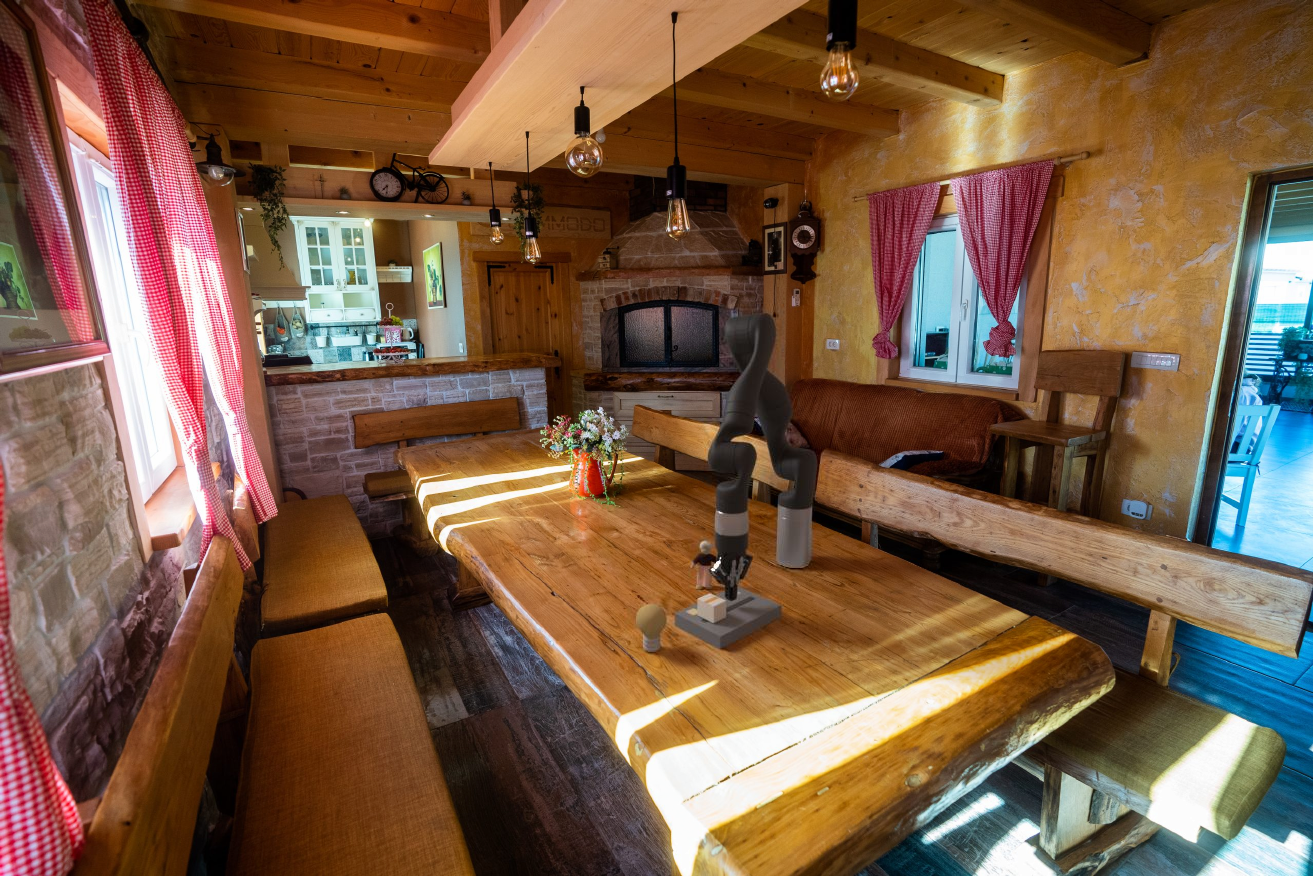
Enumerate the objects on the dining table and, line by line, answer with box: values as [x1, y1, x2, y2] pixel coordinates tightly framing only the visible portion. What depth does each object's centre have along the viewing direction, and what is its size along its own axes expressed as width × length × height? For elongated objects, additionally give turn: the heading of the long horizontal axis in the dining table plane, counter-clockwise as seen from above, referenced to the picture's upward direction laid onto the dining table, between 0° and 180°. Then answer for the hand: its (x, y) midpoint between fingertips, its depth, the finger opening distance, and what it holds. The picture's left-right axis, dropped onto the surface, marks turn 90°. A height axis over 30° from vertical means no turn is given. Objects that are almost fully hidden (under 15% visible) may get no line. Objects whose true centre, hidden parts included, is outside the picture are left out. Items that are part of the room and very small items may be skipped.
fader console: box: [674, 586, 783, 650], centre depth 145 cm, size 21×14×3 cm, turn 132°
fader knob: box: [696, 592, 726, 623], centre depth 140 cm, size 4×5×4 cm
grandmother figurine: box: [690, 540, 717, 590], centre depth 161 cm, size 8×4×13 cm, turn 105°
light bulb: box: [635, 603, 668, 653], centre depth 133 cm, size 6×6×10 cm
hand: (730, 599), depth 145 cm, fingers closed
